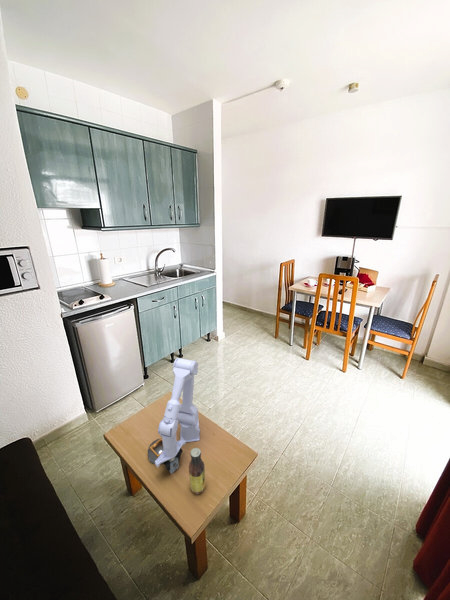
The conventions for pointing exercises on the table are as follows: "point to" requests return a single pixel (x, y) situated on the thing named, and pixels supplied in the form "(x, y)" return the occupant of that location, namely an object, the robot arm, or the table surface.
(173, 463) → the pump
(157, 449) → the grey disc square socket
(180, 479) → the table surface
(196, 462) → the sauce bottle
